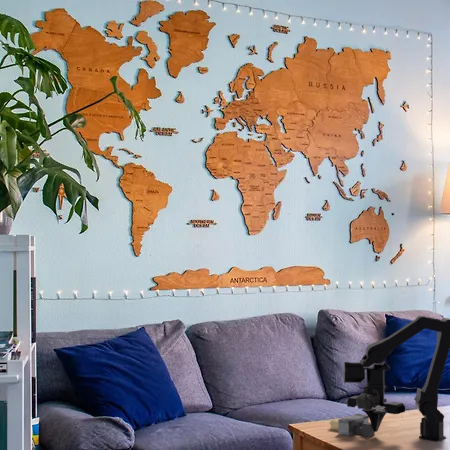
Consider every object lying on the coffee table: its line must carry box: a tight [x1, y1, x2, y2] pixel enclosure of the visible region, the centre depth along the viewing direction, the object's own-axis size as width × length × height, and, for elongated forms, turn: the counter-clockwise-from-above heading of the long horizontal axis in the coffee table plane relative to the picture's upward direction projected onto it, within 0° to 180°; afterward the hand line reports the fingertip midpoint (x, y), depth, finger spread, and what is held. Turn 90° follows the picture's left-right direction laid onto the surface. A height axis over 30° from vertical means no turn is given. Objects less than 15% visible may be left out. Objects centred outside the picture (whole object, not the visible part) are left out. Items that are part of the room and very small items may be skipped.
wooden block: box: [329, 418, 339, 432], centre depth 247 cm, size 5×4×3 cm
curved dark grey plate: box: [337, 413, 370, 437], centre depth 242 cm, size 4×12×5 cm, turn 137°
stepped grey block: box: [354, 421, 376, 437], centre depth 241 cm, size 11×3×4 cm, turn 47°
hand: (375, 431), depth 237 cm, fingers closed
